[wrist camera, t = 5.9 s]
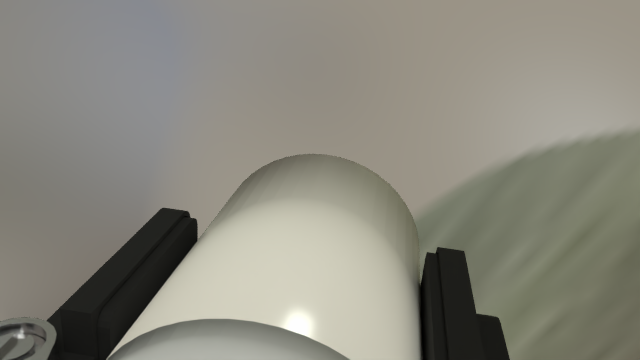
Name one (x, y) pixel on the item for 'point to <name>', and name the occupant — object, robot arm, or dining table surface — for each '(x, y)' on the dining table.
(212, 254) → the cylinder
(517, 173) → the dining table surface
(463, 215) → the dining table surface
